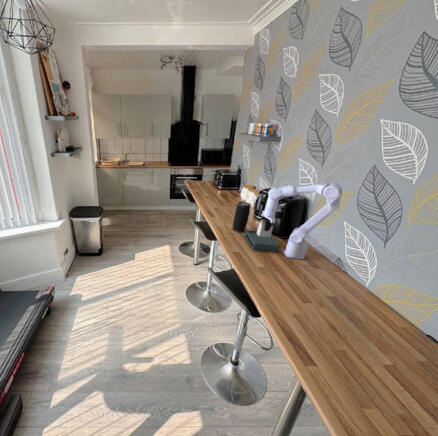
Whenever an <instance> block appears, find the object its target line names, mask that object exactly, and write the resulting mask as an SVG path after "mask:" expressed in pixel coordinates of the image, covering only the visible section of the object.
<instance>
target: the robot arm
mask: <svg viewBox="0 0 438 436" xmlns="http://www.w3.org/2000/svg"><path fill="white" fill-rule="evenodd" d="M305 193H306V194H307V193H316V194H319V195H323V196H324V198H325V199H326V204H325V205H323V207H321V208H320V209H319V210H318V211H317V212H316V213H314V215H313V216H311V217H310V218H309V219H308V220H306V221H305V222H304V223H303V224H301V225H300V226H299V227H296V228H294V229H293V231H292V232H291V234H290V235H289V238H288V241H287V243H286V247H285V249H281V252H282V253H283V254H284V255H285V256H286V258H288V259H300V260H306V258H305V256H306V254H307V251H308V247H309V245H308V242H306V241H304V239H305V238H306V237H307V236H308V235H309V234H310V233H311V231H312V230H314V229H315V228H316V227H318V226H319V225H320V224H321V223H322V222H324V220H326V219H327V218H328V217H330V216H331V215H332V214H334V212H336V210H338V209H339V208H340V204H341V201H342V200H341V199H342V194H343V190H342V187H341V185H340V184H339V183H337V182H323V183H316V184H308V185H303V186H296V185H294V184H293V185H292V184H288V185H285V186H281V185H279V186H274V187H272V188H271V189H269V190H268V193H267V195H268V197H267V200H266V203H265V207H264V210H262V213H261V215H260V219H261V220H264V221H265V229H264V230H265V231H269V230H270V228H271V226H272V225H273V226H274V225H275V224H276V217H275V216H276V212H277V208H278V205H279V200H280V198H289V197H296V195H297V194H305Z"/></svg>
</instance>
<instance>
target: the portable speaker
mask: <svg viewBox="0 0 438 436" xmlns="http://www.w3.org/2000/svg"><path fill="white" fill-rule="evenodd" d="M251 205H252V204H251V203H250V202H246V201H238V202H237V205H236V207H235V212H234V217H233V221H232V230H233V231H237V232H238V233H244V232H245V231H246V227H247V225H248V222H249V218H250V212H251Z"/></svg>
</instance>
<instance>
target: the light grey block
mask: <svg viewBox="0 0 438 436" xmlns="http://www.w3.org/2000/svg"><path fill="white" fill-rule="evenodd" d="M264 229H265V221H264V220H262V219H261V220H260V222H259V223H258V227H257V230H256V231H257V234H258V236H264V237H270V236H271V235H272V233H273V229H274V224H273V225H272V226H271V228H270V230H269V231H265V230H264Z"/></svg>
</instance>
